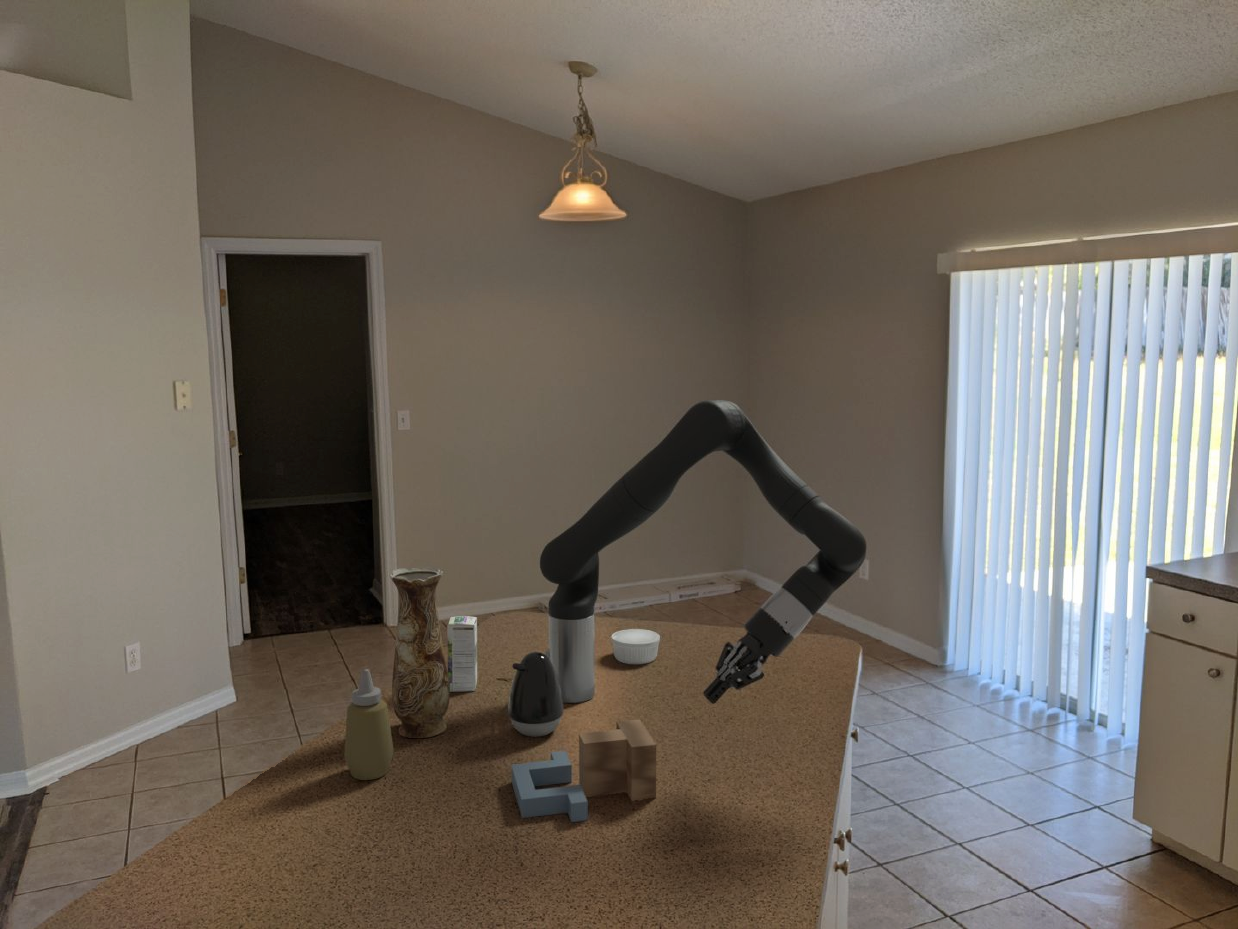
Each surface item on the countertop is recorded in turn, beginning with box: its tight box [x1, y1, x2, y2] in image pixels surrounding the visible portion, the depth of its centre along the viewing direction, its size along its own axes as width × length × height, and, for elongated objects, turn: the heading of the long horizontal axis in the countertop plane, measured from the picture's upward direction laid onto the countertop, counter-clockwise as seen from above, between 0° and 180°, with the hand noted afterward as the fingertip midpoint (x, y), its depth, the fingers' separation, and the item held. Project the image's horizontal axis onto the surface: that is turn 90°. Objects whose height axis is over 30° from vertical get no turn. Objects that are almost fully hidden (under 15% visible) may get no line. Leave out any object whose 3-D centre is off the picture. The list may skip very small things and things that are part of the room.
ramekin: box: [610, 628, 661, 665], centre depth 212 cm, size 11×11×5 cm
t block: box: [578, 719, 657, 802], centre depth 151 cm, size 11×10×9 cm
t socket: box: [510, 750, 589, 823], centre depth 148 cm, size 10×18×3 cm, turn 14°
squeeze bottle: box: [343, 668, 394, 781], centre depth 155 cm, size 8×8×18 cm
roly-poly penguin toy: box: [507, 651, 564, 738], centre depth 172 cm, size 10×10×15 cm
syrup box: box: [446, 615, 478, 693], centre depth 194 cm, size 6×6×14 cm
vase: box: [389, 566, 450, 739], centre depth 172 cm, size 10×11×30 cm
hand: (707, 699), depth 153 cm, fingers closed
